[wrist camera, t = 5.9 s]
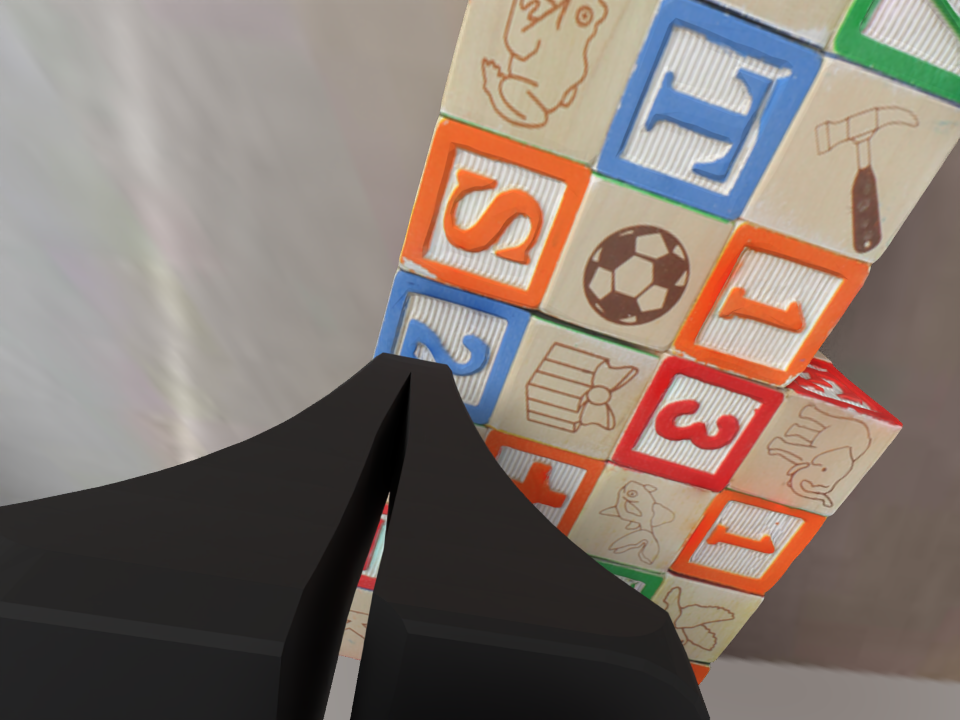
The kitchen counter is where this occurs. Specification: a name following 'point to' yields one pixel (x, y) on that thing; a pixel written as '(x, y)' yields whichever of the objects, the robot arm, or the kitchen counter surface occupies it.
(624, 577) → the stack of blocks
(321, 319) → the kitchen counter surface
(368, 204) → the kitchen counter surface
